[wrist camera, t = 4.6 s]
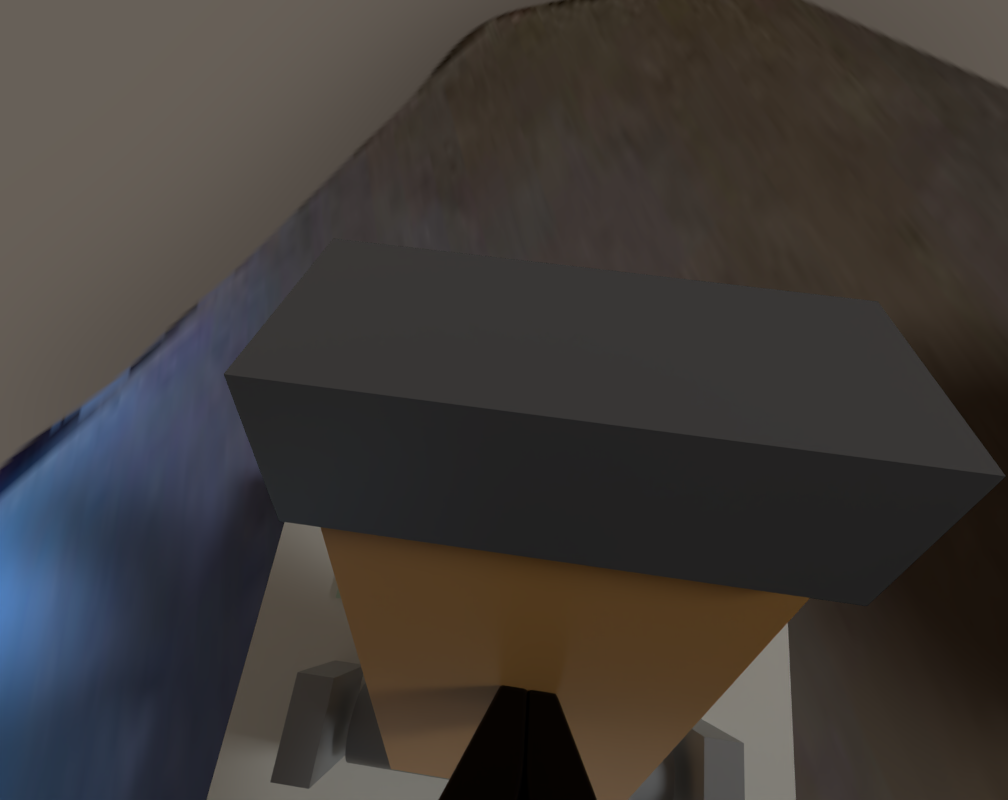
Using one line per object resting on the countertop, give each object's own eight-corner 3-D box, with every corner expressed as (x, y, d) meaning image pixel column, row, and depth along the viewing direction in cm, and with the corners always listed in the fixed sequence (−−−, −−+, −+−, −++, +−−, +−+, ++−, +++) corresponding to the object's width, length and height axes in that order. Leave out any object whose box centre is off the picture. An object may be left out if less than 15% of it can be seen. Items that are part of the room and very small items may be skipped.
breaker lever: (659, 840, 12) (1132, 492, 4) (346, 787, 12) (118, 360, 4) (651, 728, 13) (962, 312, 5) (376, 684, 14) (257, 229, 6)
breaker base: (755, 981, 14) (894, 1190, 9) (222, 885, 14) (77, 1027, 9) (746, 539, 18) (838, 514, 13) (327, 481, 18) (262, 435, 13)
